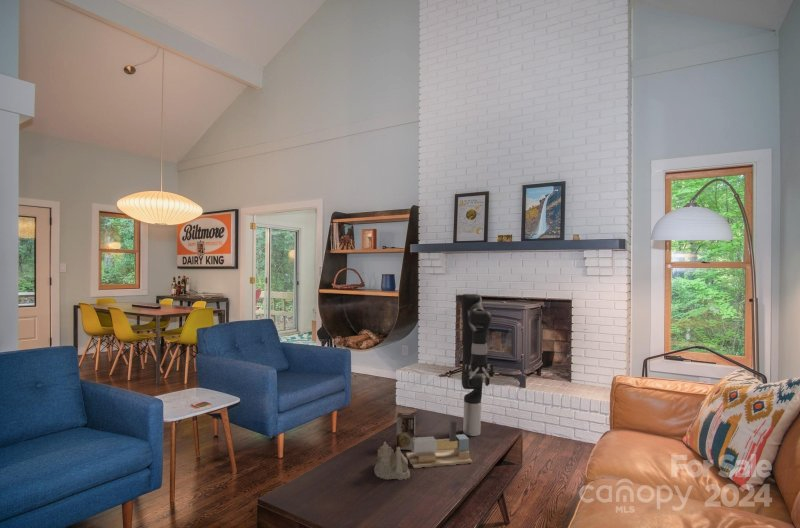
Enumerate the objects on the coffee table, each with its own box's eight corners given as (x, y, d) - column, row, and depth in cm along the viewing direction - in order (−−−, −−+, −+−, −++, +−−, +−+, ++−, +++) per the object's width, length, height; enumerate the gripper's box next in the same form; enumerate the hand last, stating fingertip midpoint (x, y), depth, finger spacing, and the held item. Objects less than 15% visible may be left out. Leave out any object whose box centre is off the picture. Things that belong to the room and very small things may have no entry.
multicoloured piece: (430, 447, 213) (430, 421, 213) (462, 444, 216) (462, 419, 216) (432, 450, 209) (432, 423, 209) (464, 447, 213) (465, 421, 213)
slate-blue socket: (453, 451, 218) (454, 433, 218) (463, 451, 219) (463, 433, 219) (459, 458, 210) (460, 440, 210) (469, 458, 211) (469, 439, 211)
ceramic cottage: (408, 481, 190) (407, 444, 191) (370, 478, 192) (370, 442, 193) (413, 467, 205) (413, 433, 206) (378, 465, 208) (378, 431, 209)
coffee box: (415, 445, 228) (415, 413, 227) (414, 450, 221) (415, 417, 221) (397, 444, 228) (397, 412, 228) (395, 449, 222) (396, 416, 222)
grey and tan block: (409, 454, 214) (409, 436, 214) (431, 452, 216) (431, 434, 216) (415, 463, 204) (415, 444, 204) (437, 461, 207) (438, 442, 207)
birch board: (406, 455, 216) (406, 452, 216) (461, 450, 222) (461, 448, 222) (413, 468, 202) (413, 465, 202) (472, 463, 208) (472, 460, 208)
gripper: (489, 350, 223) (488, 383, 223) (462, 351, 220) (461, 384, 220) (496, 353, 216) (495, 387, 216) (468, 354, 213) (467, 388, 213)
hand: (478, 385), depth 218 cm, fingers open, 8 cm apart
